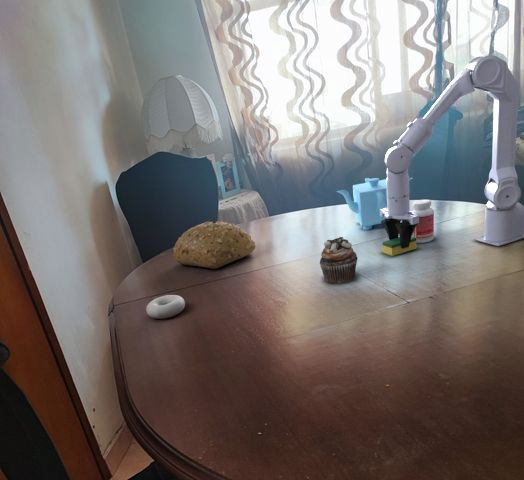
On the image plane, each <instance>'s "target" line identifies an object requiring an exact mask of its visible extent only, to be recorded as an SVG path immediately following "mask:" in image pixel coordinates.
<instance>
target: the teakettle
mask: <svg viewBox="0 0 524 480" xmlns="http://www.w3.org/2000/svg"><path fill="white" fill-rule="evenodd" d="M386 179H387V178H386ZM386 179H381V180H380V178H378V177H374V178H373V177H372V178H370V177H365V178H364V183H363V182H362V183H358V184H353V185H352V195H353V197H352V196H351V195H350V193H349V191H347V190H346V189H340V190H336V191H335V192H336V193H338V194H341V195H342V196H343V197H344V199H345V202H346V204H347V206H348V208H349V210H350V211H351V212H353V213H354V217H355V219H356V221H357V222H358V223H359V225H360V226H361V227H363V228H362V229H363V230H365V231H368V230H372V229H373V226H374V225H380V224H381V225H382V223H381V221H382V220H384V219H385V218H384V217H381V216H380V209H384V208H387V186H386ZM413 179H414V178H413V177H409V182H410V181H411V180H413Z"/></svg>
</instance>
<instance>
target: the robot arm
mask: <svg viewBox="0 0 524 480" xmlns="http://www.w3.org/2000/svg"><path fill="white" fill-rule="evenodd" d="M476 89H477V90H480V91H483V92H484V93H486V94H487V95H488V96H489V97H491V98H492V99H493V122H492V123H493V125H492V152H491V153H492V154H491V169H490V171H489V174H488V180H487V182H486V185H485V186H484V195H485V198H486V199H487V203H486V204H485V212H484V229H483V236H481V237H477V238H476V239H475V240H476V242H481V243H485V244H489V245H493V246H496V247H501V246H504V245H507V244H510V243H513V242H516V241H519V240H522V239H524V205H523V204H522V203H520V199H521V196H522V190H521V188H520V186H519V182H518V178H519V177H518V173H517V170H516V167H515V165H516V148H517V131H518V115H519V98H520V94H519V93H520V84H519V83H518V81H517V79H516V78H515V76H514V75H513V72H511V70H510V68H509V65H508V62H507V61H505V60H504V59H502V58H501V57H499V56H497V55H494V54H487V55H484V56H477V57H474V58H473V59H471V60H470V61H469V62H468V63H467V64H466V66H465V68H463V69H461V71H459V72H458V73H457V75H456V76H455V77H454V78H453V79H452V81H451V82H450V83H449V84H448V85H447V87H446V88H445V89H444V91H443V92H442V93H441V94H440V96H439V97H438V98H437V100H436V101H435V102H434V103H433V105H432V106H431V107H430V109H429V110H428V111H427V113H426V114H425V115H424V116H423V117H420V118H415V119H414V121H413V122H411V121H409V123H408V124H407V125H406V127H407V129H406V130H405V131H404V133H403V134H401V136H400V137H399V139H398V140H394V142H393V145H394V146H393V147H391V148H389V149H388V150H387V152H386V154H385V156H384V160H383V161H384V164H385V166H386V186H387V208H384V209H380V216H381V217H384V218H385V219H384V220H382V221H381V225H382V226H383V228H384V230H385V232H386V234H387V237H388V240H391V239H395V238H398V237H400V244H401V248H407V247H409V244H410V240H411V236H412V233H413V231H414V229H415V227H416V225H417V223H419V215H416V214H414V213H413V212H412V210H411V208H410V207H411V206H410V205H411V204H410V203H411V202H410V181H409V178H410V176H409V168H410V165H411V162H412V158H413V157H415V156H416V155H417V154H418V153H419V152H420V150H421V149H422V148H423V147H424V146H425V145H426V143H428V141H429V140H430V139H431V138H432V136H433V135H434V126H435V125H436V124H437V123H438V122H439V121H440V120H441V119H442V117H443V116H445V114H446V113H447V112H448V111H449V110H450V108H451V107H453V105H454V104H456V102H457V101H458V100H459V99H460V98H461V97H464V96H467V95H469V94H471V93H474V92H475V91H476Z"/></svg>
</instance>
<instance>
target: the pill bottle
mask: <svg viewBox="0 0 524 480" xmlns="http://www.w3.org/2000/svg"><path fill="white" fill-rule="evenodd" d="M412 204H413V205H412V207H413V209H412V210H411V212H413V213H414V214H416V215H419V223H417V225H416V227H415V229H414V231H413V233H412V236H411V237H415V238H416V244H424V243H429V242H431V241H433V240H434V238H435V237H434V236H435V224H434V223H435V210H434V209H433V208H432V207H431V206H432V200H431V199H419V200H415V201H413V203H412Z"/></svg>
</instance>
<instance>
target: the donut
mask: <svg viewBox="0 0 524 480" xmlns="http://www.w3.org/2000/svg"><path fill="white" fill-rule="evenodd" d="M185 307H186V301H185V299H184V298H183V297H182V296H181V295H176V294H166V295H162V296H159V297H156V298H154V299H153V300H151V301H149V303H147V305H146V308H145V309H146V314H147V315H148V316H149V318H151V319H155V320H163V319H164V320H165V319H169V318H173V317H176V316H177V315H179V314H181V312H183V310H184V309H185Z"/></svg>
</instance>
